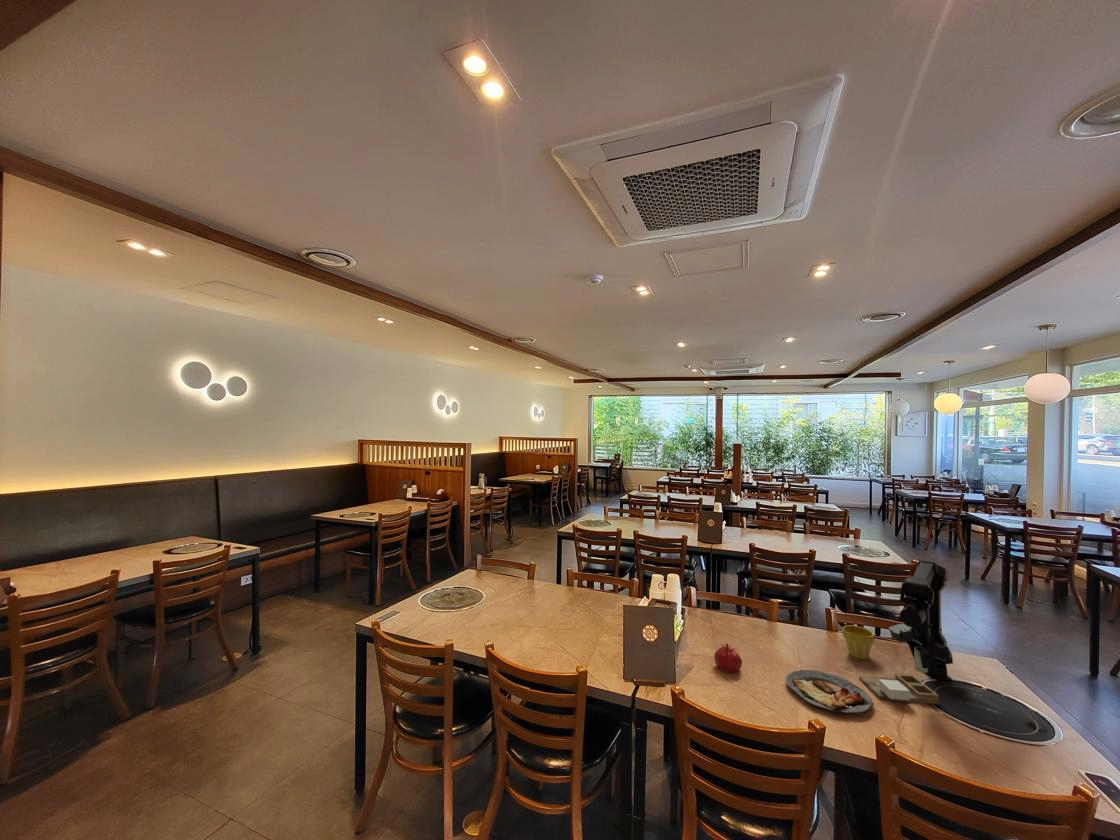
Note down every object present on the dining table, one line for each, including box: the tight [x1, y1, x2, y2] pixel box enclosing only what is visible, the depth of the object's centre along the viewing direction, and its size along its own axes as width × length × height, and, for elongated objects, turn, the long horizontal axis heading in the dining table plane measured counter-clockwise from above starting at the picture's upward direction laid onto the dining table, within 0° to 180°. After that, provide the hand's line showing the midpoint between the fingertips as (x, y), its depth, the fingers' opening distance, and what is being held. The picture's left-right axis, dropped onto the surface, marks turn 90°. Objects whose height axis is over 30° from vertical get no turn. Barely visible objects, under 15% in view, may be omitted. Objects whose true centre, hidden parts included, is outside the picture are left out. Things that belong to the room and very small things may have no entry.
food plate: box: [785, 669, 874, 715], centre depth 143 cm, size 25×23×4 cm
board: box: [858, 673, 940, 705], centre depth 144 cm, size 12×18×3 cm, turn 81°
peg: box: [914, 647, 927, 674], centre depth 141 cm, size 3×3×7 cm
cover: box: [879, 679, 910, 700], centre depth 140 cm, size 6×6×3 cm
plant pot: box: [842, 624, 875, 660], centre depth 169 cm, size 10×10×10 cm
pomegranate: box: [713, 642, 743, 673], centre depth 160 cm, size 10×10×9 cm
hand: (920, 665), depth 141 cm, fingers closed on peg, 3 cm apart
